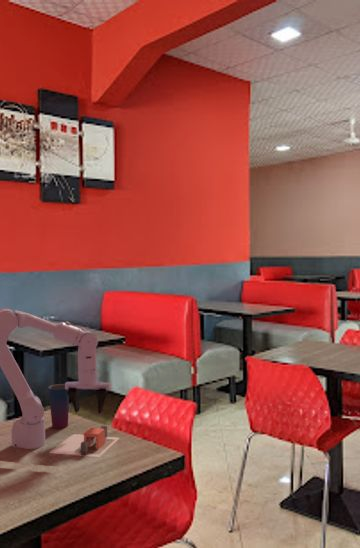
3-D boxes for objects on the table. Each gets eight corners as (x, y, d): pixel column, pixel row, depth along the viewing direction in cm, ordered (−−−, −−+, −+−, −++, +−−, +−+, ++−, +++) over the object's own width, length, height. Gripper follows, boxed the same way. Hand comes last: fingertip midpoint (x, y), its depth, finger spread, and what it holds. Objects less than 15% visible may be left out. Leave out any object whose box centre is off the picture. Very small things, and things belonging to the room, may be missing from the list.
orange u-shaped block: (84, 449, 158) (83, 433, 158) (91, 443, 163) (90, 427, 163) (98, 451, 157) (98, 434, 157) (105, 444, 162) (104, 428, 162)
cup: (54, 427, 183) (52, 383, 182) (73, 427, 182) (72, 384, 181) (46, 433, 176) (45, 389, 175) (66, 434, 175) (65, 389, 174)
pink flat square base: (48, 457, 155) (48, 440, 155) (73, 438, 171) (73, 423, 171) (99, 462, 151) (98, 445, 151) (120, 442, 167) (119, 426, 166)
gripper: (60, 371, 164) (62, 415, 165) (105, 372, 162) (106, 416, 163) (69, 366, 171) (70, 408, 172) (112, 367, 169) (113, 409, 170)
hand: (88, 411), depth 168 cm, fingers open, 7 cm apart
